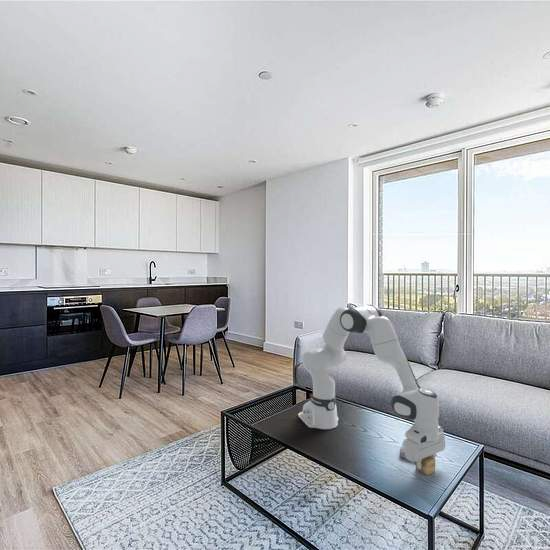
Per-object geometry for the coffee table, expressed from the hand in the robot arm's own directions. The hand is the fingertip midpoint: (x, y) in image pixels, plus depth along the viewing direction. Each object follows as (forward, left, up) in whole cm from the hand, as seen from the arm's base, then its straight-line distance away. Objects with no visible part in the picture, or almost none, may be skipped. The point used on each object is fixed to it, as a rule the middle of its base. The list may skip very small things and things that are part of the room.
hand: (425, 465), depth 137 cm
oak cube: (0, 0, -2) cm, 2 cm away
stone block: (-10, +6, -2) cm, 12 cm away
